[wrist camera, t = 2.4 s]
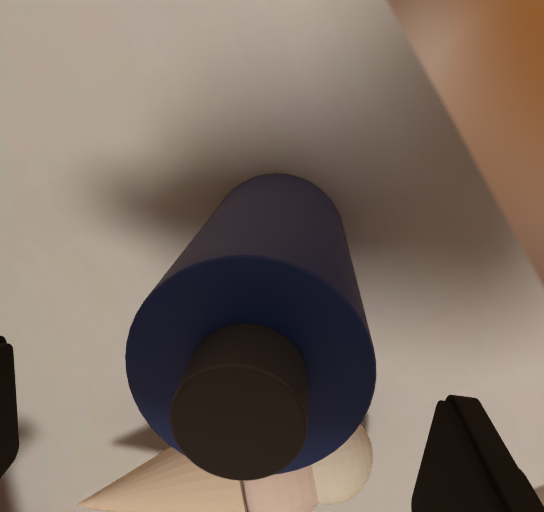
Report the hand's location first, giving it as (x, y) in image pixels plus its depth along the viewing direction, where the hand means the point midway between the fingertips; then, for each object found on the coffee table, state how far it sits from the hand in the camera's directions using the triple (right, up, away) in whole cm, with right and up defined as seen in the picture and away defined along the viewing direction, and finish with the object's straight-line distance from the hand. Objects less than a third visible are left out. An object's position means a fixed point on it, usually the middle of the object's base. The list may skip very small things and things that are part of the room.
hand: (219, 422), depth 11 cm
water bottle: (+1, +4, +13) cm, 14 cm away
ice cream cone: (-1, -6, +17) cm, 18 cm away
